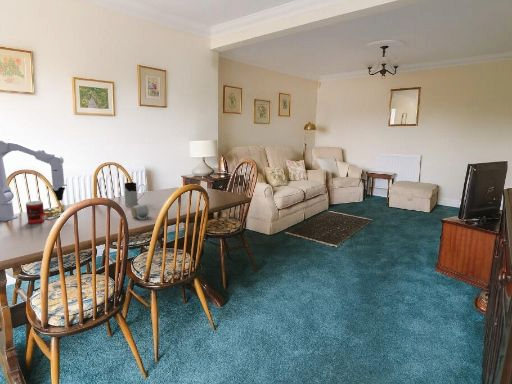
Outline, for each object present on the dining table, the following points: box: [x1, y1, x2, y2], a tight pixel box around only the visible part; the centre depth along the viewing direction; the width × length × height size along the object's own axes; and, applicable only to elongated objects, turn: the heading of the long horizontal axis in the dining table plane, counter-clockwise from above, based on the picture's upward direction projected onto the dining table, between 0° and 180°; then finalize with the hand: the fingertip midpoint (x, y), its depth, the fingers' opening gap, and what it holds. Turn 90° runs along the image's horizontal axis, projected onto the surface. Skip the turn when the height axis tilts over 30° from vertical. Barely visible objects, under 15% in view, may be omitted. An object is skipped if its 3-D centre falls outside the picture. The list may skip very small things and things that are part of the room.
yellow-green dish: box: [43, 203, 66, 216], centre depth 188 cm, size 13×10×5 cm
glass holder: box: [123, 181, 146, 208], centre depth 219 cm, size 9×14×15 cm, turn 127°
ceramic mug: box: [130, 203, 149, 221], centre depth 191 cm, size 11×8×8 cm
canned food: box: [25, 200, 45, 225], centre depth 175 cm, size 8×8×11 cm
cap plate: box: [44, 207, 62, 221], centre depth 188 cm, size 14×14×4 cm
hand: (60, 200), depth 185 cm, fingers closed
